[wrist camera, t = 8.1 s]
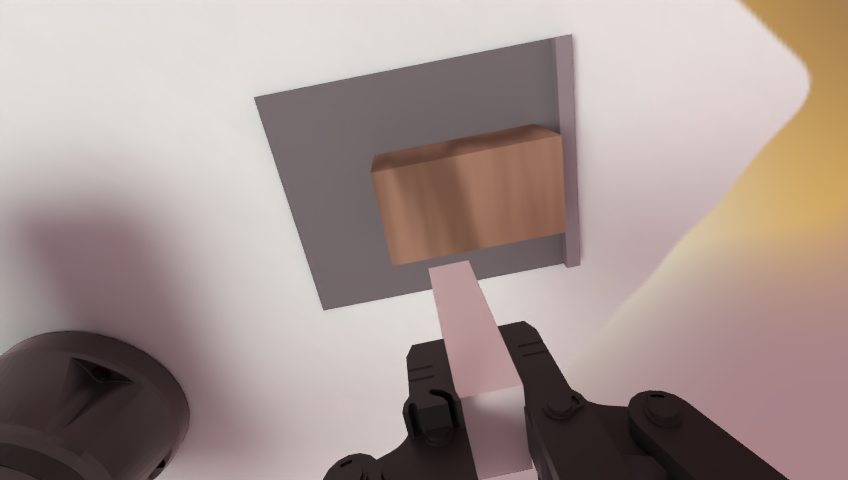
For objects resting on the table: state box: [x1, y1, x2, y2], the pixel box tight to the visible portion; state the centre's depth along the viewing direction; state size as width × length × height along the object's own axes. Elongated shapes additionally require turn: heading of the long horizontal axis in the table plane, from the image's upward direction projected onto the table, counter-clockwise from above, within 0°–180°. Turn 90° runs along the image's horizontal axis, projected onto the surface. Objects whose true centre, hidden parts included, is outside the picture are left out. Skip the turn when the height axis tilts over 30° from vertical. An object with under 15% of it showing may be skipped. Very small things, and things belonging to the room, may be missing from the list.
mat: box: [254, 34, 580, 310], centre depth 29 cm, size 20×16×1 cm
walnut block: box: [370, 124, 567, 266], centre depth 27 cm, size 5×6×11 cm
